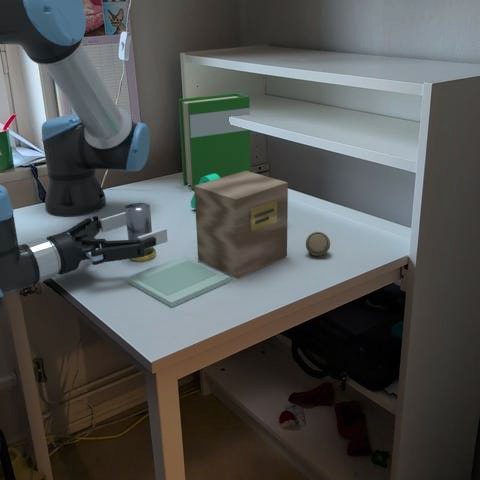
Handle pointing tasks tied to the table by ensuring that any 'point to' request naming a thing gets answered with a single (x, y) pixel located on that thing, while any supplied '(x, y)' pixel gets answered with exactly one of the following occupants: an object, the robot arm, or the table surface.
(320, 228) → the table surface
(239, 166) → the hardback book
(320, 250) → the door knob
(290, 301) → the table surface
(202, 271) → the pad
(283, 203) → the block
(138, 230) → the grey glass cylinder
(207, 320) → the table surface
